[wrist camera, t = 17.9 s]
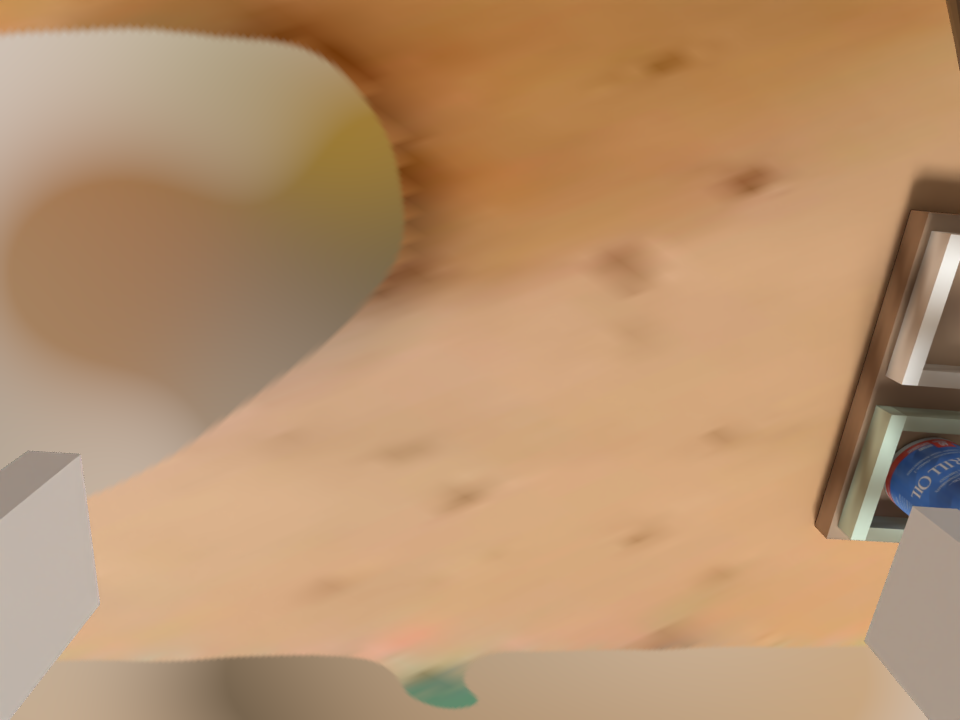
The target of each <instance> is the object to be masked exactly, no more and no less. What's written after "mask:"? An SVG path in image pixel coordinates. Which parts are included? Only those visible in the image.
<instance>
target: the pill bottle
mask: <svg viewBox="0 0 960 720" xmlns="http://www.w3.org/2000/svg"><path fill="white" fill-rule="evenodd" d="M884 487H885V491H886V493H887V495H888V496H889V498H890V499H891V500H892V502H894V503H895V504H896V505H897V506H898V507H899V508H900V509H901V510H902V511H904V512H905V513H906V514H907V515H908V516H909V515H910V512H911V509H912V507H913V506H918V507H934V508H950V509H958V510H959V511H960V446H959V445H958V444H956V443H954V442H952V441H950V440H947V439H943V438H937V437H930V438H924V439H920V440H917V441H914V442H912V443H910V444H908V445H906V446H904V447H903V448H901V449H900V450H899V451H898V452H897V453H896V454H895V455H894V457H893V460H892V463H891V466H890V468H889V471H888V474H887V477H886V480H885V483H884Z"/></svg>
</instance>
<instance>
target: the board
mask: <svg viewBox="0 0 960 720" xmlns="http://www.w3.org/2000/svg"><path fill="white" fill-rule="evenodd" d="M930 437H937V438H943V439H947V440H950V441H952V442H954V443H956V444H958V445H959V446H960V215H959V214H948V213H938V212H927V211H916V210H911V212H910V215H909V218H908V222H907V225H906V228H905V232H904V235H903V238H902V241H901V245H900V248H899V251H898V255H897V258H896V261H895V264H894V268H893V271H892V274H891V278H890V281H889V284H888V287H887V291H886V294H885V297H884V300H883V304H882V307H881V310H880V314H879V317H878V320H877V323H876V327H875V330H874V333H873V337H872V340H871V343H870V346H869V350H868V353H867V356H866V360H865V363H864V366H863V369H862V373H861V376H860V379H859V382H858V386H857V389H856V392H855V396H854V399H853V402H852V405H851V409H850V412H849V415H848V419H847V422H846V425H845V428H844V432H843V435H842V438H841V442H840V445H839V448H838V451H837V455H836V458H835V461H834V464H833V468H832V471H831V474H830V478H829V481H828V484H827V487H826V491H825V494H824V497H823V501H822V504H821V507H820V510H819V514H818V517H817V520H816V524H815V527H816V528H817V529H818V530H819V531H820V532H821V533H822V534H823V535H824V536H825V538H826V539H841V540H858V541H875V542H892V543H900V540H901V537H902V535H903V532H904V529H905V526H906V523H907V521H908V518H909V516H908V515H907V514H906V513H905V512H904V511H902V510H901V509H900V508H899V507H898V506H897V505H896V504H895V503H894V502H892V500H891V499H890V498H889V496H888V495H887V493H886V491H885V487H884V483H885V480H886V477H887V474H888V471H889V468H890V466H891V463H892V460H893V457H894V455H895V454H896V453H897V452H898V451H899V450H900V449H901V448H903V447H904V446H906V445H908V444H910V443H912V442H914V441H917V440H920V439H924V438H930Z"/></svg>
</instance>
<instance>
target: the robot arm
mask: <svg viewBox="0 0 960 720" xmlns="http://www.w3.org/2000/svg"><path fill="white" fill-rule="evenodd" d="M946 4H947V9H948V13H949V18H950V23H951V28H952V33H953V37H954V42H955V47H956V53H957V58H958V64H959V69H960V0H946ZM99 605H100V599H99V591H98V584H97V576H96V568H95V560H94V552H93V545H92V537H91V529H90V521H89V514H88V506H87V498H86V490H85V482H84V475H83V467H82V459H81V454H73V453H57V452H56V453H55V452H40V451H27V452H25V453H24V454H23V455H21V456H20V457H19V458H17V459H15V460H14V461H13V462H11V463H10V464H8V465H7V466H6V467H4V468H3V469H1V470H0V720H10V719H11V717H12V716H13V715H14V713H15V712H16V711H17V709H18V708H19V707H20V706H21V704H22V703H23V702H24V701H25V699H26V698H27V697H28V696H29V694H30V693H31V692H32V690H33V689H34V688H35V687H36V685H37V684H38V683H39V681H40V680H41V679H42V678H43V676H44V675H45V674H46V673H47V671H48V670H49V669H50V667H51V666H52V665H53V664H54V662H55V661H56V660H57V659H58V657H59V656H60V655H61V653H62V652H63V651H64V650H65V648H66V647H67V646H68V644H69V643H70V642H71V641H72V639H73V638H74V637H75V636H76V634H77V633H78V632H79V630H80V629H81V628H82V627H83V625H84V624H85V623H86V621H87V620H88V619H89V618H90V616H91V615H92V614H93V613H94V611H95V610H96V609H97V607H98V606H99ZM864 641H865V643H866V644H867V645H868V646H869V648H870V649H871V650H872V651H873V652H874V653H875V655H876V656H877V657H878V658H879V660H880V661H881V662H882V663H883V665H884V666H885V667H886V668H887V669H888V670H889V672H890V673H891V674H892V675H893V677H894V678H895V679H896V680H897V682H898V683H899V684H900V685H901V686H902V687H903V689H904V690H905V691H906V692H907V693H908V695H909V696H910V697H911V699H912V700H913V701H914V702H915V703H916V705H917V706H918V707H919V708H920V709H921V711H922V712H923V713H924V714H925V716H926V717H927V718H928V719H929V720H960V511H959V510H958V509H950V508H934V507H918V506H913V507H912V509H911V512H910V515H909V518H908V521H907V523H906V526H905V529H904V532H903V535H902V537H901V540H900V543H899V546H898V548H897V551H896V554H895V557H894V560H893V562H892V565H891V568H890V571H889V573H888V576H887V579H886V582H885V585H884V587H883V590H882V593H881V596H880V599H879V601H878V604H877V607H876V610H875V612H874V615H873V618H872V621H871V624H870V626H869V629H868V632H867V635H866V638H865V640H864Z"/></svg>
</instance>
